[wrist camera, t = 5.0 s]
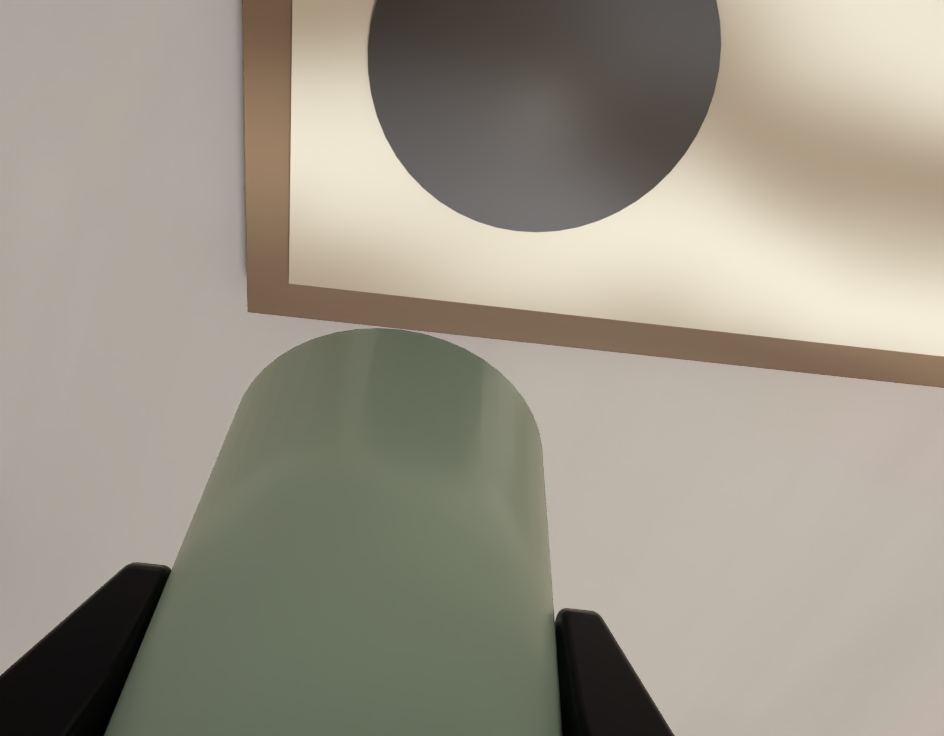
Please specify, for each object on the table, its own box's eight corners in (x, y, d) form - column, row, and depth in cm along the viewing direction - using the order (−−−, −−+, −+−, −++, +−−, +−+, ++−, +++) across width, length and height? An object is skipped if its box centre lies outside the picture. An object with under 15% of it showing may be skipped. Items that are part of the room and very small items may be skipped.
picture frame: (967, 374, 23) (998, 410, 21) (254, 296, 21) (239, 329, 20) (1284, -226, 16) (1361, -229, 14) (246, -397, 14) (222, -417, 13)
